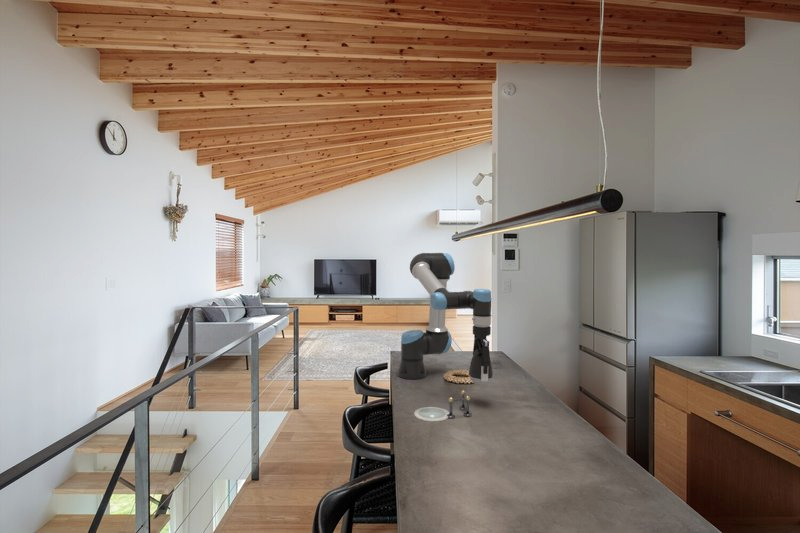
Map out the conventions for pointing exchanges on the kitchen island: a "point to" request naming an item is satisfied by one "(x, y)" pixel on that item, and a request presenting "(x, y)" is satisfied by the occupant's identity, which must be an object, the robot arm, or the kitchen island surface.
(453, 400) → the metal corner railing
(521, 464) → the kitchen island surface
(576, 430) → the kitchen island surface
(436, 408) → the coaster
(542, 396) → the kitchen island surface
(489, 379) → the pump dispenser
